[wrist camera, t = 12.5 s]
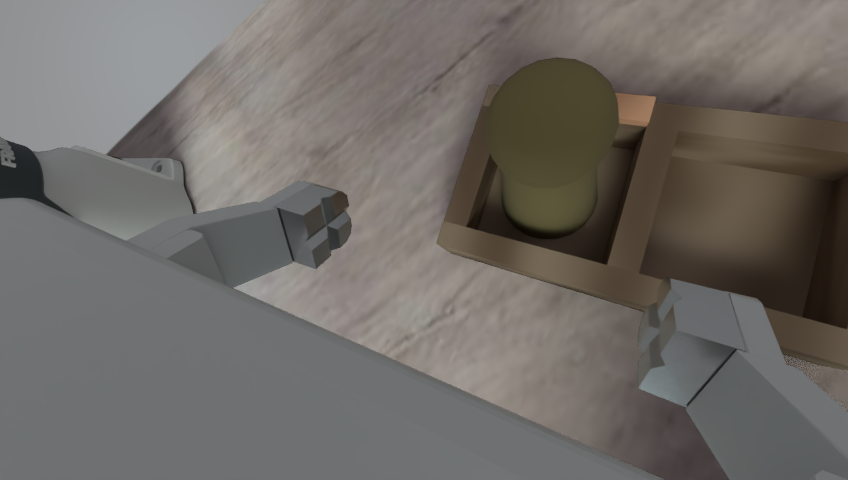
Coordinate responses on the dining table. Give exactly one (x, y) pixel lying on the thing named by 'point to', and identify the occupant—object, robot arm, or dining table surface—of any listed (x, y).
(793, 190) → the spice rack
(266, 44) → the dining table surface
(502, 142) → the olive round-topped post
